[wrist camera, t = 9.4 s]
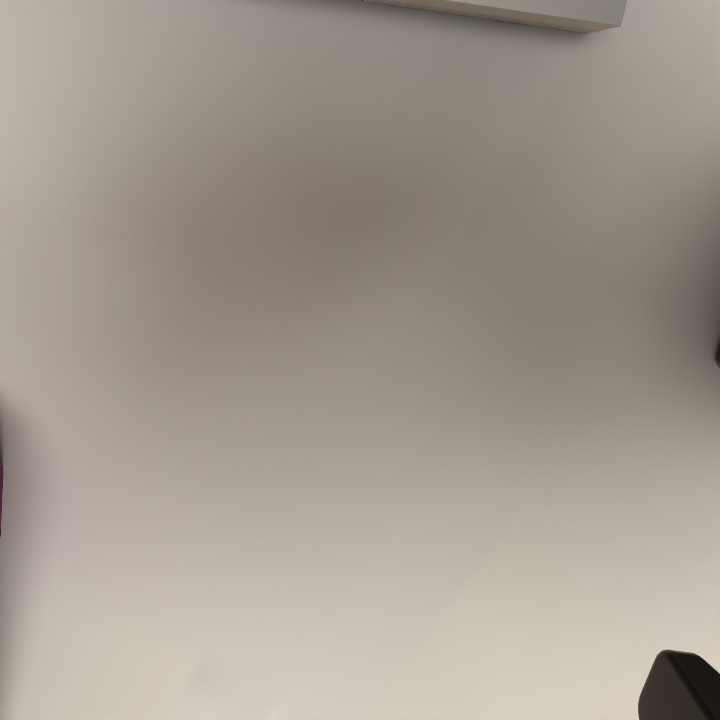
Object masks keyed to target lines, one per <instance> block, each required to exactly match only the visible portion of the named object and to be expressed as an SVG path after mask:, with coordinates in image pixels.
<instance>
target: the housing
mask: <svg viewBox="0 0 720 720" xmlns="http://www.w3.org/2000/svg"><path fill="white" fill-rule="evenodd" d="M359 1H366V2H373V3H380V4H387V5H394V6H401V7H408V8H415V9H421V10H428V11H435V12H442V13H449V14H456V15H463V16H470V17H477V18H484V19H491V20H498V21H504V22H511V23H518V24H525V25H532V26H539V27H546V28H553V29H560V30H567V31H574V32H581V33H591V32H595V31H599V30H603V29H608V28H612V27H616V26H620V25H621V21H622V17H623V13H624V9H625V6H626V2H627V0H359Z"/></svg>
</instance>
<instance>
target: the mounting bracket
mask: <svg viewBox="0 0 720 720" xmlns="http://www.w3.org/2000/svg"><path fill="white" fill-rule="evenodd" d="M2 491H3V469H2V466H1V464H0V536H1V517H2Z"/></svg>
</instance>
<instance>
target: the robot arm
mask: <svg viewBox="0 0 720 720" xmlns="http://www.w3.org/2000/svg"><path fill="white" fill-rule="evenodd" d="M716 362H717V365H718V366H719V367H720V346H719V348H718V351H717V354H716ZM638 714H639V720H720V673H718V672H717V671H716V670H715V669H714V668H713V667H712V666H711V665H709V664H708V663H707V662H706V661H705V660H704V659H703V658H701V657H700V656H698V655H697V654H693V653H689V652H681V651H673V650H663V651H661V652H660V653H659V654H658V655H657V657H656V658H655V661H654V663H653V665H652V668H651V670H650V673H649V675H648V677H647V680H646V682H645V685H644V687H643V689H642V692H641V694H640V698H639V703H638Z"/></svg>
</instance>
